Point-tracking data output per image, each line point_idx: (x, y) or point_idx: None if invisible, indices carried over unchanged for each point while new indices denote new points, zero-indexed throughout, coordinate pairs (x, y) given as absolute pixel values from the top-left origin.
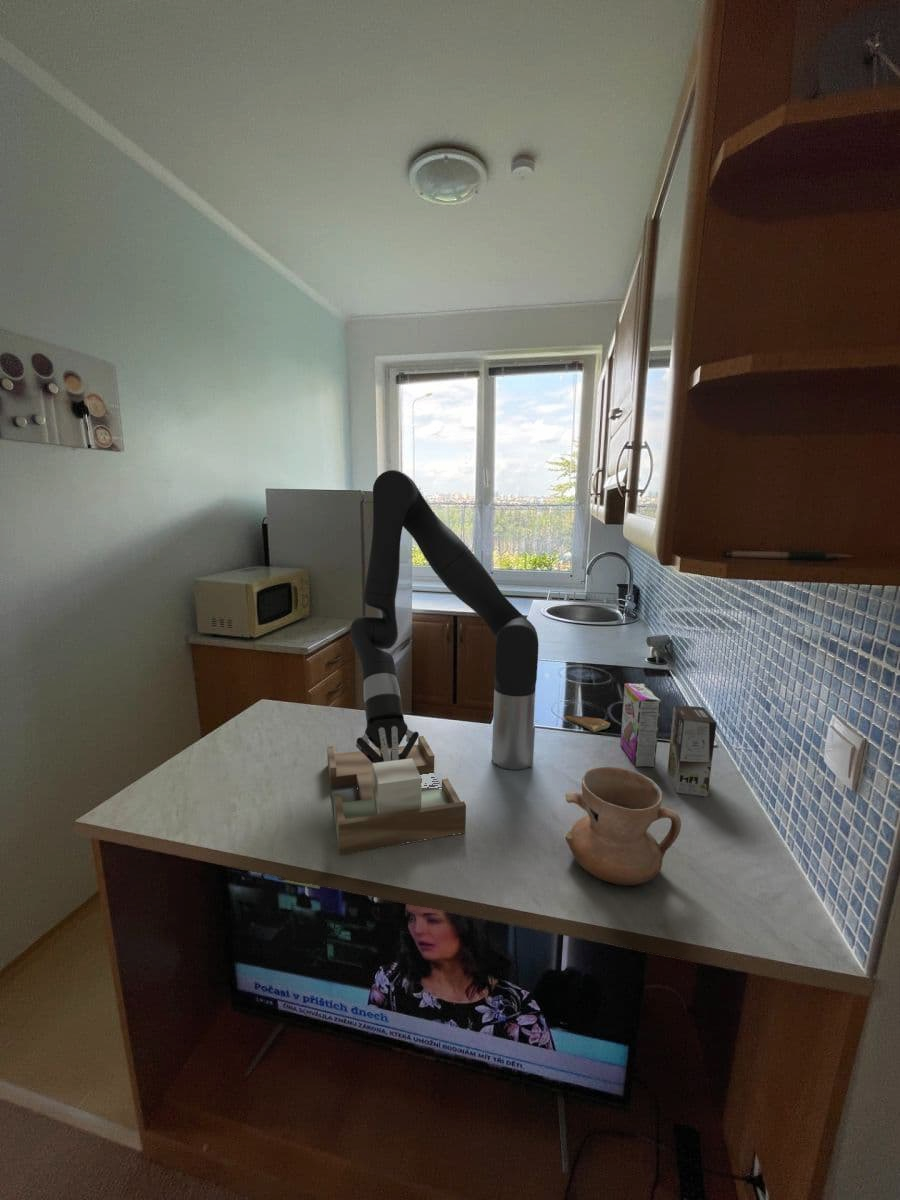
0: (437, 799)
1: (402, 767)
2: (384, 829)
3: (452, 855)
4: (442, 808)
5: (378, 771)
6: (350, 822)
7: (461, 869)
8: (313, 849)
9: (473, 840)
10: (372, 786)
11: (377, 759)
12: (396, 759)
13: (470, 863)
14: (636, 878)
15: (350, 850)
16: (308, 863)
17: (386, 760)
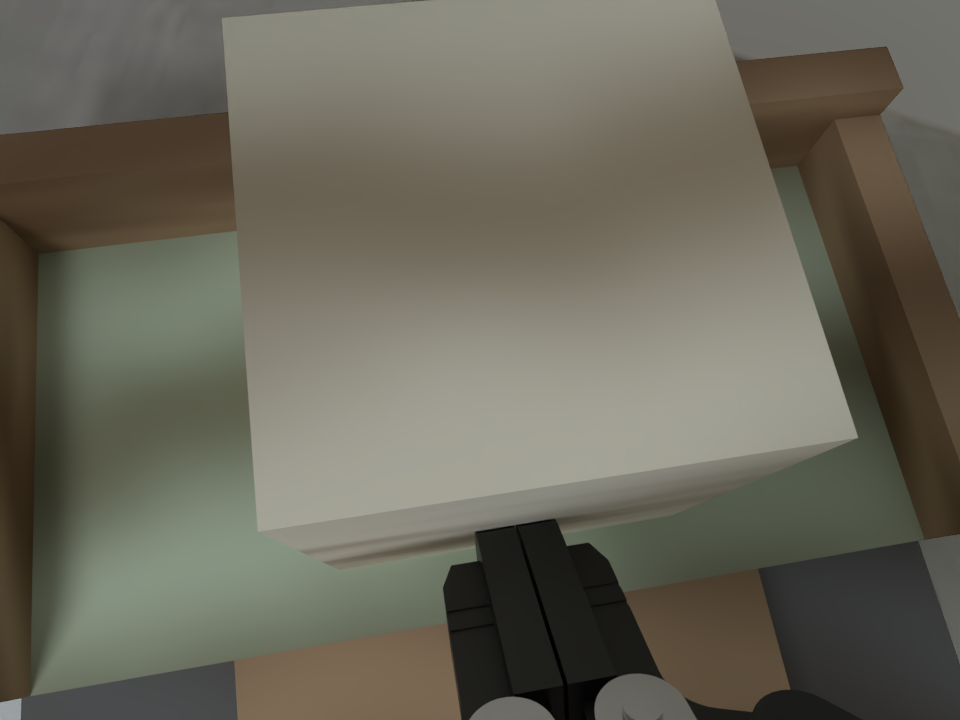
0: (121, 511)
1: (431, 275)
2: None
3: (178, 99)
4: (122, 125)
5: (742, 214)
6: (815, 60)
7: (160, 6)
8: (936, 235)
9: None
10: (724, 492)
11: (787, 709)
12: (497, 716)
13: (100, 35)
14: None
15: None
16: (925, 139)
17: (647, 694)
